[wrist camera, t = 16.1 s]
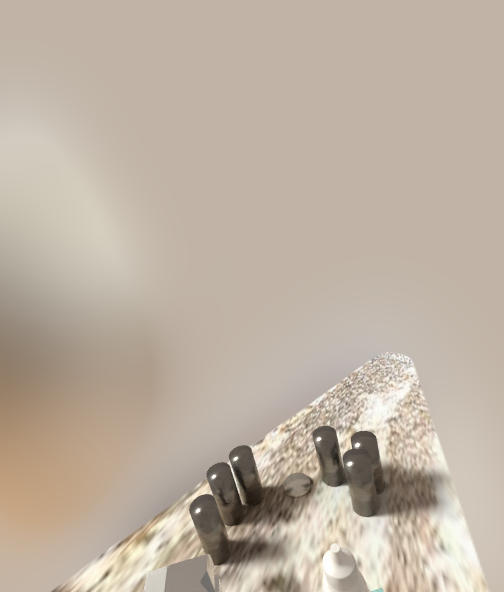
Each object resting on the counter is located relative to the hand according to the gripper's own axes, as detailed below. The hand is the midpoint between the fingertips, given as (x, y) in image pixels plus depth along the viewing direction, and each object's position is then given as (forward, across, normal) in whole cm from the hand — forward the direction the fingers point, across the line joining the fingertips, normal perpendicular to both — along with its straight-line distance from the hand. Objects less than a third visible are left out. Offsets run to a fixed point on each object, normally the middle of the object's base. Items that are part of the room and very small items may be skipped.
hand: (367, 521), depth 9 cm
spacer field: (+30, +1, +30) cm, 43 cm away
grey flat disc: (+33, 0, +30) cm, 45 cm away
